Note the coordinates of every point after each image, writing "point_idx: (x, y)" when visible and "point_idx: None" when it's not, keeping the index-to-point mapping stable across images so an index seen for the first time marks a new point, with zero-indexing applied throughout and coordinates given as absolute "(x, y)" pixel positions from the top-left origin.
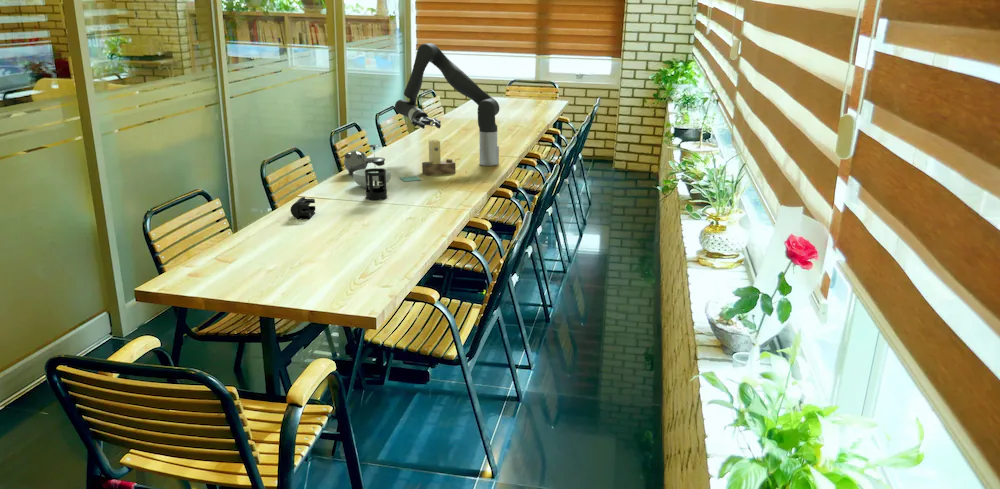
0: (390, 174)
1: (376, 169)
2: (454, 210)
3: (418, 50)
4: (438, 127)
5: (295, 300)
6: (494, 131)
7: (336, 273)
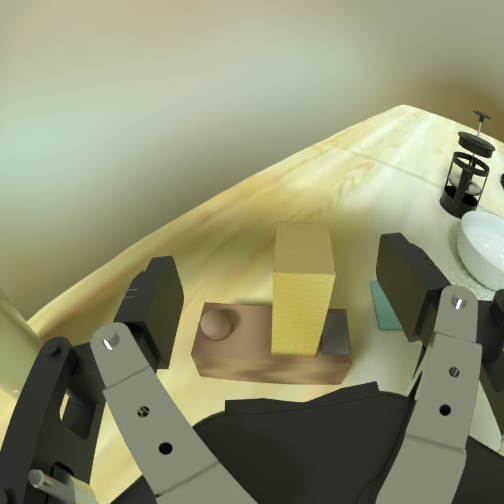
0: (459, 231)
1: (475, 170)
2: (338, 144)
3: None
4: (180, 294)
5: (441, 117)
6: None
7: (432, 121)
